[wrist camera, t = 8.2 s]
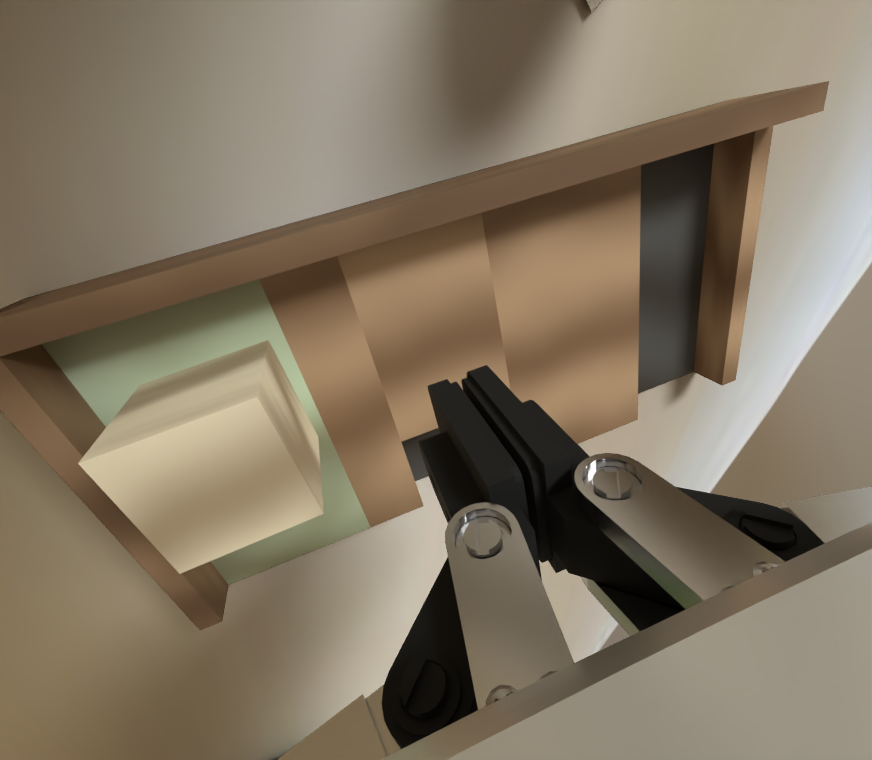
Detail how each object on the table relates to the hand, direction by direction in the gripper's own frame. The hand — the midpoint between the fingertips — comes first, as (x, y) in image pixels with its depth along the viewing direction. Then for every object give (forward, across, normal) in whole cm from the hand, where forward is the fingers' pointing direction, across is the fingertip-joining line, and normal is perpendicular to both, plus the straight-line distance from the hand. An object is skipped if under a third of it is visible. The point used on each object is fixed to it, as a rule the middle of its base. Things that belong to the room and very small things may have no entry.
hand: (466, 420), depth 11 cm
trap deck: (+10, -3, +3) cm, 11 cm away
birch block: (+8, +8, +1) cm, 11 cm away
